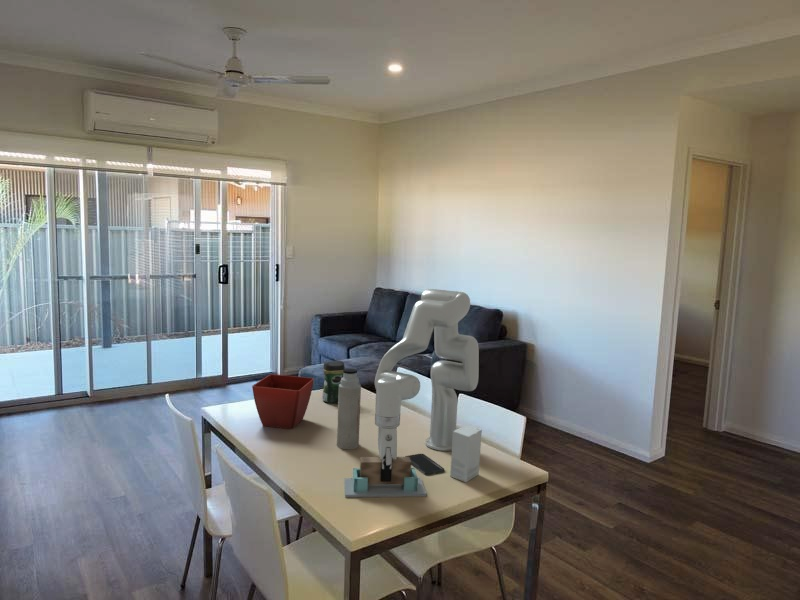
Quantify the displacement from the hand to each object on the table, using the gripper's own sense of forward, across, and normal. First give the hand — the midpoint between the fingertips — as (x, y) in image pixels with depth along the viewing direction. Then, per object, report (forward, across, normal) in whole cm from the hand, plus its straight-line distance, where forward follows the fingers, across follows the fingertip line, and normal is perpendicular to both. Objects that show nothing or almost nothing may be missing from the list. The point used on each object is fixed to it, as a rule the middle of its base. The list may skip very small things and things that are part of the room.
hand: (385, 477), depth 169 cm
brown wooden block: (+1, 0, 0) cm, 1 cm away
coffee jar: (+4, +89, +15) cm, 90 cm away
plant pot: (+4, +59, +35) cm, 69 cm away
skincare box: (+4, +8, -27) cm, 28 cm away
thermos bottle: (+4, +35, +10) cm, 37 cm away
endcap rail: (+3, 0, 0) cm, 3 cm away
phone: (+4, +17, -15) cm, 23 cm away
